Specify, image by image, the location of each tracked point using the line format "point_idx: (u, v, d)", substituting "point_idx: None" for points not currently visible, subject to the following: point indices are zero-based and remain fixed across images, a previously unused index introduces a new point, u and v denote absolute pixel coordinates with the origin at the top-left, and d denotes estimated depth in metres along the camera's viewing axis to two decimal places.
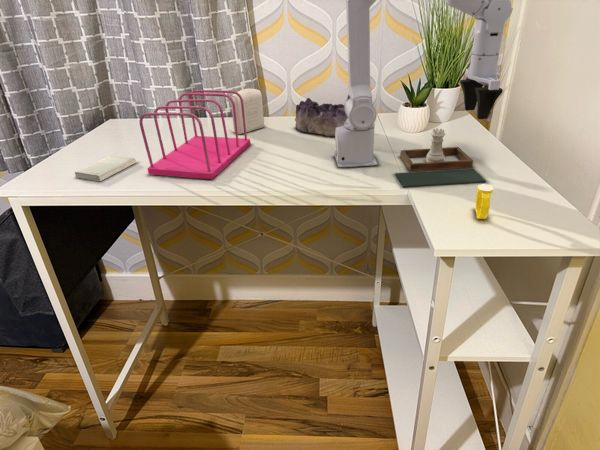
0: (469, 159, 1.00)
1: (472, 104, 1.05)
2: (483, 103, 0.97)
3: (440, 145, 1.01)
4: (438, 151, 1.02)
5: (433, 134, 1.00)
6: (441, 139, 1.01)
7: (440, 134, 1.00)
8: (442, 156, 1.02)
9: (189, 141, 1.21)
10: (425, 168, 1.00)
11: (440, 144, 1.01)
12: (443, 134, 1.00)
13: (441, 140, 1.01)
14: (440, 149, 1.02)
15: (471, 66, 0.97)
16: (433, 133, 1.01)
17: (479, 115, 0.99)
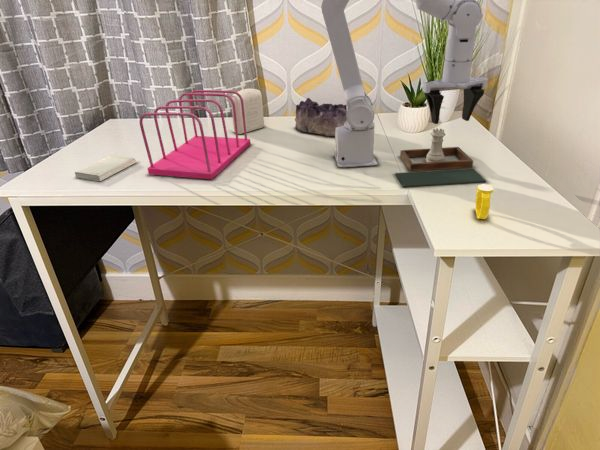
0: (469, 159, 1.00)
1: (465, 114, 1.00)
2: (433, 106, 0.99)
3: (440, 145, 1.01)
4: (438, 151, 1.02)
5: (433, 134, 1.00)
6: (441, 139, 1.01)
7: (440, 134, 1.00)
8: (442, 156, 1.02)
9: (189, 141, 1.21)
10: (425, 168, 1.00)
11: (440, 144, 1.01)
12: (443, 134, 1.00)
13: (441, 140, 1.01)
14: (440, 149, 1.02)
15: None
16: (433, 133, 1.01)
17: (431, 117, 1.01)
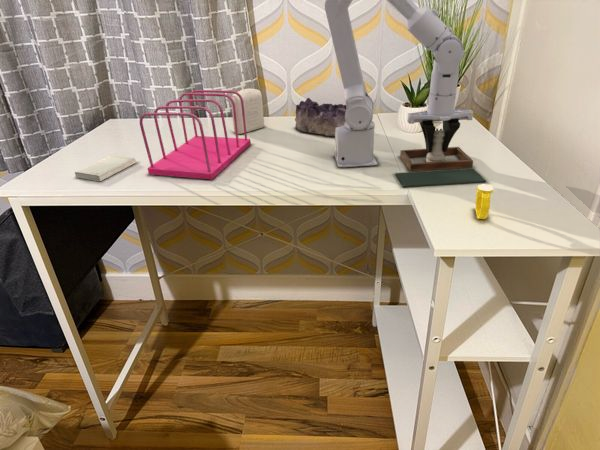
0: (469, 159, 1.00)
1: (443, 145, 1.02)
2: (427, 135, 1.02)
3: (440, 145, 1.01)
4: (438, 151, 1.02)
5: None
6: (441, 139, 1.01)
7: (440, 134, 1.00)
8: (442, 156, 1.02)
9: (189, 141, 1.21)
10: (425, 168, 1.00)
11: (440, 144, 1.01)
12: (443, 134, 1.00)
13: (441, 140, 1.01)
14: (440, 149, 1.02)
15: None
16: None
17: (426, 146, 1.04)
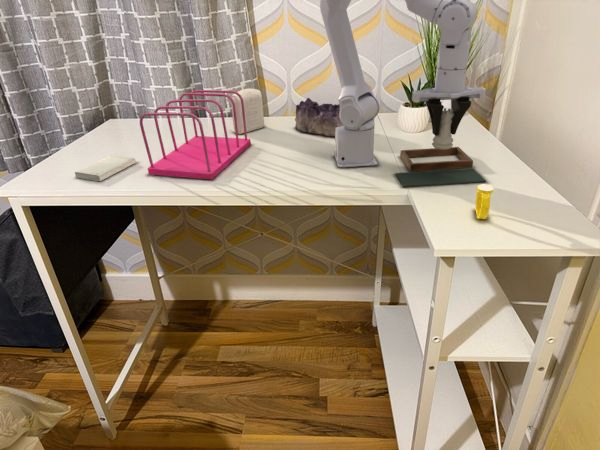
0: (469, 159, 1.00)
1: (452, 127, 0.92)
2: (434, 116, 0.91)
3: (448, 127, 0.91)
4: (446, 133, 0.91)
5: None
6: (449, 120, 0.90)
7: (448, 114, 0.89)
8: (450, 139, 0.92)
9: (189, 141, 1.21)
10: (425, 168, 1.00)
11: (449, 125, 0.91)
12: (452, 114, 0.90)
13: (449, 121, 0.90)
14: (448, 132, 0.91)
15: None
16: None
17: (432, 128, 0.93)
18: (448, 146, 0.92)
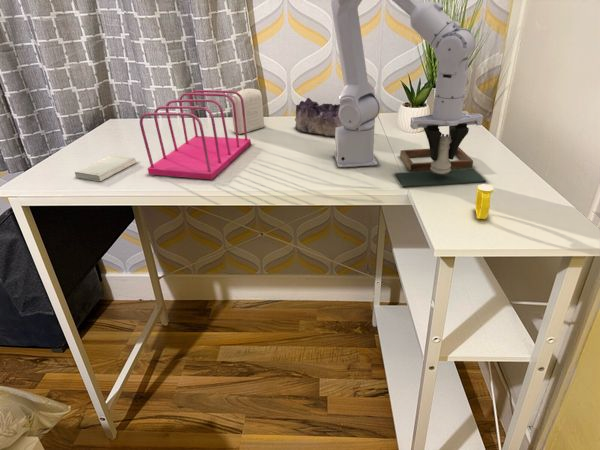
0: (469, 159, 1.00)
1: (450, 152, 0.93)
2: (432, 142, 0.93)
3: (446, 152, 0.92)
4: (444, 159, 0.93)
5: None
6: (447, 146, 0.92)
7: (446, 140, 0.91)
8: (448, 164, 0.93)
9: (189, 141, 1.21)
10: (425, 168, 1.00)
11: (447, 151, 0.92)
12: (450, 140, 0.91)
13: (447, 147, 0.92)
14: (446, 157, 0.93)
15: None
16: None
17: (430, 153, 0.94)
18: (446, 171, 0.93)
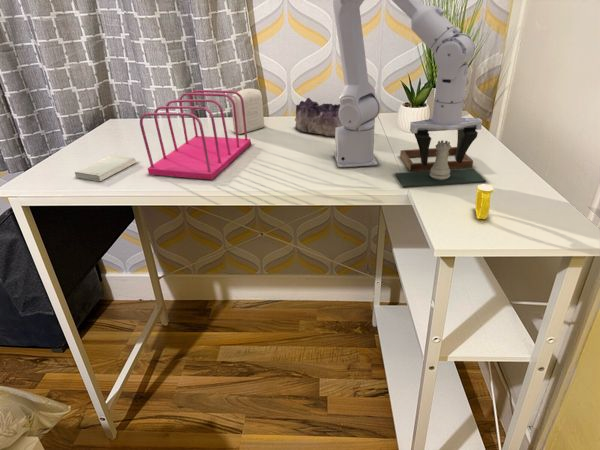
0: (469, 159, 1.00)
1: (458, 156, 0.94)
2: (422, 146, 0.93)
3: (445, 159, 0.93)
4: (443, 165, 0.93)
5: (438, 147, 0.92)
6: (447, 152, 0.92)
7: (446, 147, 0.91)
8: (448, 170, 0.94)
9: (189, 141, 1.21)
10: (425, 168, 1.00)
11: (446, 157, 0.93)
12: (449, 147, 0.92)
13: (447, 153, 0.92)
14: (445, 163, 0.93)
15: None
16: (438, 146, 0.92)
17: (421, 158, 0.95)
18: (445, 177, 0.94)
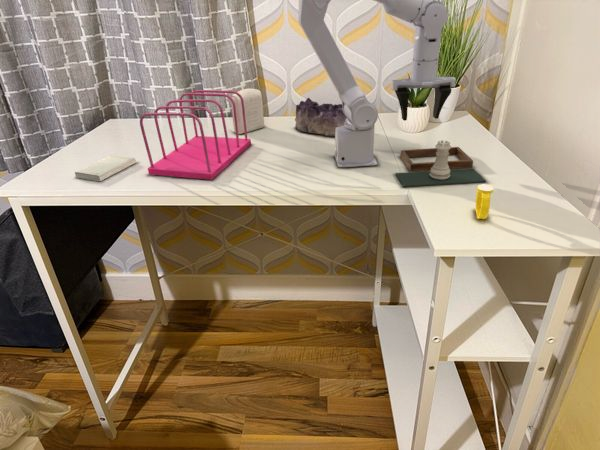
0: (469, 159, 1.00)
1: (435, 112, 1.04)
2: None
3: (445, 159, 0.93)
4: (443, 165, 0.93)
5: (438, 147, 0.92)
6: (447, 152, 0.92)
7: (446, 147, 0.91)
8: (448, 170, 0.94)
9: (190, 141, 1.21)
10: (425, 168, 1.00)
11: (446, 157, 0.93)
12: (449, 147, 0.92)
13: (447, 153, 0.92)
14: (445, 163, 0.93)
15: None
16: (438, 146, 0.92)
17: None
18: (445, 177, 0.94)
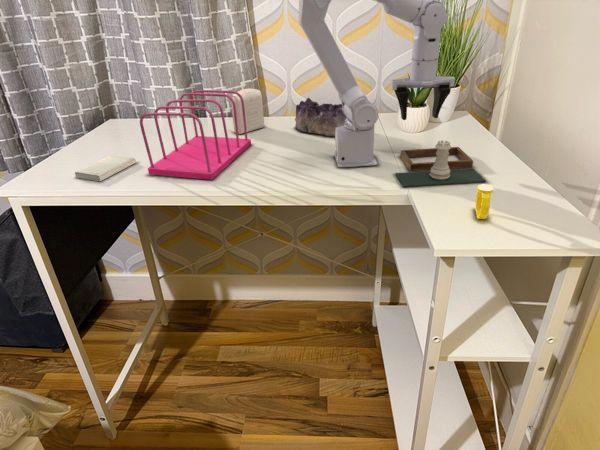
0: (469, 159, 1.00)
1: (434, 111, 1.04)
2: None
3: (445, 159, 0.93)
4: (443, 165, 0.93)
5: (438, 147, 0.92)
6: (447, 152, 0.92)
7: (446, 147, 0.91)
8: (448, 170, 0.94)
9: (190, 141, 1.21)
10: (425, 168, 1.00)
11: (446, 157, 0.93)
12: (449, 147, 0.92)
13: (447, 153, 0.92)
14: (445, 163, 0.93)
15: None
16: (438, 146, 0.92)
17: (401, 114, 1.05)
18: (445, 177, 0.94)
